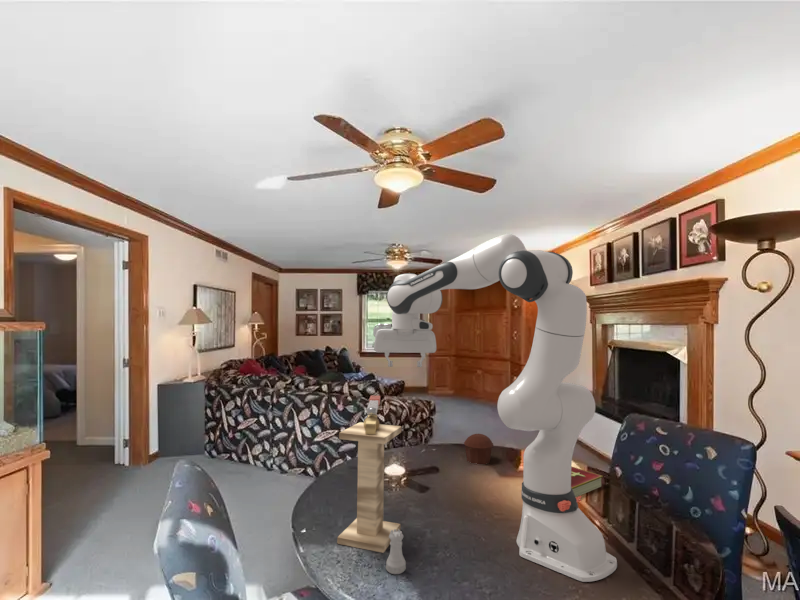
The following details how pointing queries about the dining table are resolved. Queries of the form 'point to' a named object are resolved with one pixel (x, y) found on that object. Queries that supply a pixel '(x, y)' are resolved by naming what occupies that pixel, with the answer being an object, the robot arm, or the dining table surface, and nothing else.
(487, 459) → the muffin
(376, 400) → the valve lever
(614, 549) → the dining table surface
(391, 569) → the rook chess piece
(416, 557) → the dining table surface
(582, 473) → the hardcover book
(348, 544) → the stand
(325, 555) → the dining table surface
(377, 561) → the dining table surface
